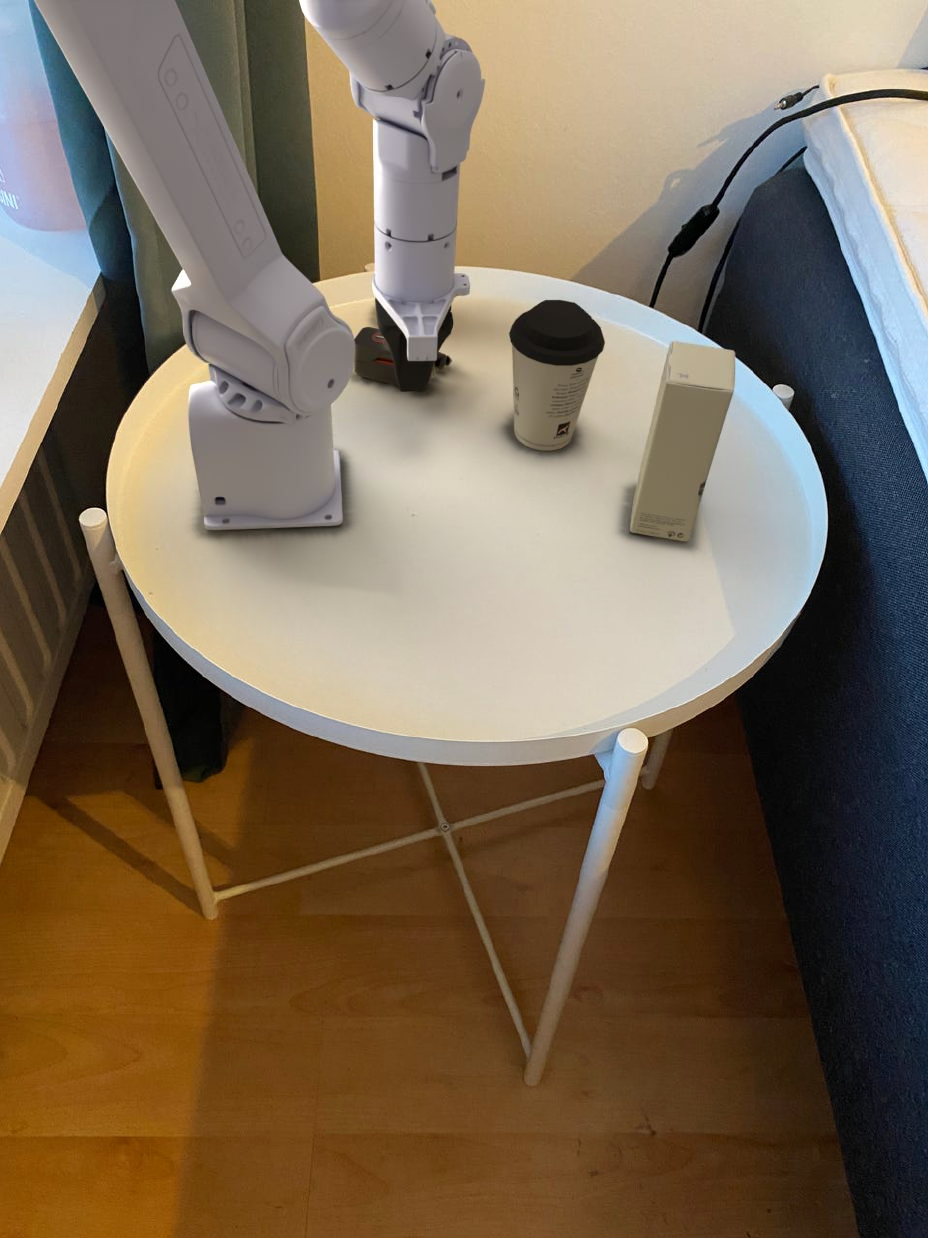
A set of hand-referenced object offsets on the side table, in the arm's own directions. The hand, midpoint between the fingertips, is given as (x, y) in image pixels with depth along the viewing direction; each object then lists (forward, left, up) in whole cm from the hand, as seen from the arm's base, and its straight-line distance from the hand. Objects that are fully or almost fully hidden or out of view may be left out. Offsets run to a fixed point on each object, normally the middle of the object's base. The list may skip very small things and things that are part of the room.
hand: (412, 387), depth 77 cm
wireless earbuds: (0, +4, -2) cm, 4 cm away
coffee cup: (+10, -4, -2) cm, 11 cm away
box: (+17, -14, -2) cm, 22 cm away
